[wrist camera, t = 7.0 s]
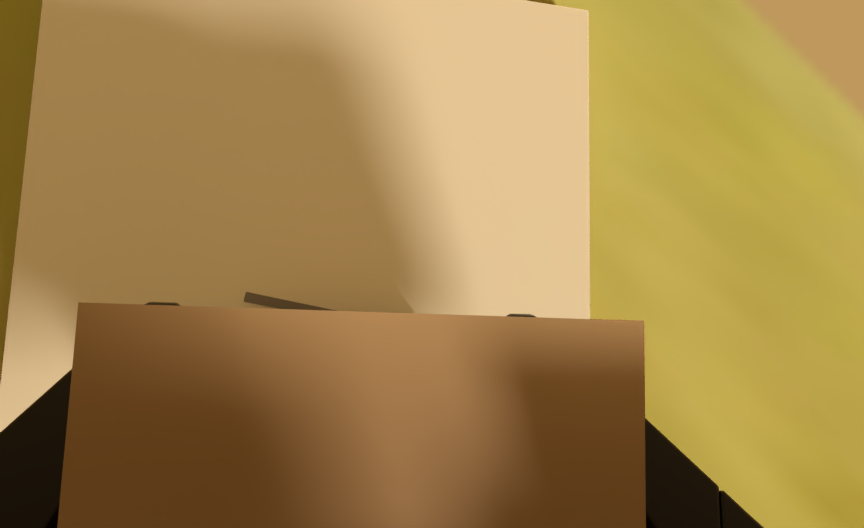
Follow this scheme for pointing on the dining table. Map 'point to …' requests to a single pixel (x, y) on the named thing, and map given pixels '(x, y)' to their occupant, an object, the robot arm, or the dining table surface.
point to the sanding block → (352, 420)
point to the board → (299, 164)
